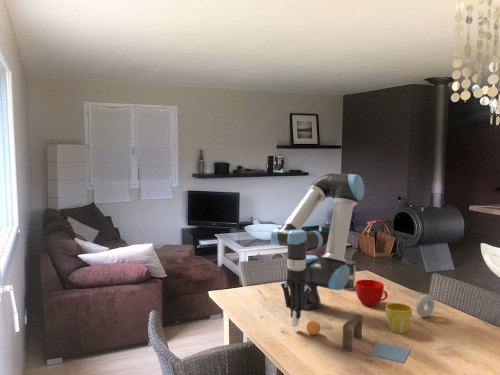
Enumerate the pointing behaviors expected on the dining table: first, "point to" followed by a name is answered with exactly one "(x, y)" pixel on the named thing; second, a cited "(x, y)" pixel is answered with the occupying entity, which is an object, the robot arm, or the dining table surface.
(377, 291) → the ceramic cup
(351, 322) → the bridge
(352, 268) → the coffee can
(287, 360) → the dining table surface
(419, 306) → the donut
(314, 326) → the ball
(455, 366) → the dining table surface
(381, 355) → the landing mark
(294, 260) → the robot arm
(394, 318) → the plant pot
